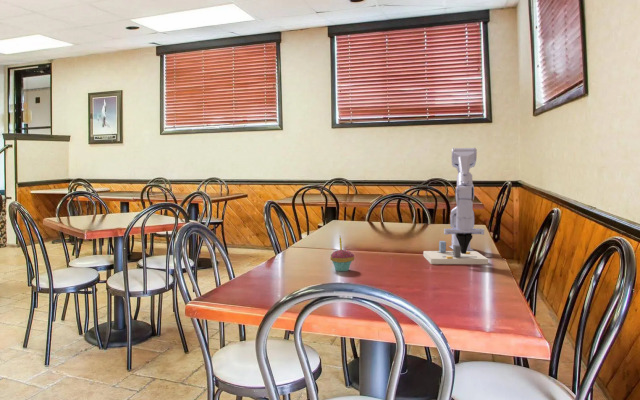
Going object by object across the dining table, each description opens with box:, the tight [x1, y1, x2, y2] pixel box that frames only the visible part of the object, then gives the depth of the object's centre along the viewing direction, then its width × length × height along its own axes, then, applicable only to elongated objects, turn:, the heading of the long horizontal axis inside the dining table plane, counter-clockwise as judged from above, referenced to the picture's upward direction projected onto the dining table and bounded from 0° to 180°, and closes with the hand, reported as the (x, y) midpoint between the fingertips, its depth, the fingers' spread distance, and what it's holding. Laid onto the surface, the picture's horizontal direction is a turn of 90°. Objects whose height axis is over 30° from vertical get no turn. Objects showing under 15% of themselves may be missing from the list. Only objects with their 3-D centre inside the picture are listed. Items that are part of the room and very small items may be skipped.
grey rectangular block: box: [438, 240, 447, 252], centre depth 183 cm, size 3×2×4 cm, turn 178°
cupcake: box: [330, 236, 356, 272], centre depth 162 cm, size 9×8×12 cm
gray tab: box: [452, 245, 461, 257], centre depth 174 cm, size 3×2×4 cm, turn 178°
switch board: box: [422, 250, 489, 265], centre depth 178 cm, size 15×21×3 cm
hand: (463, 253), depth 174 cm, fingers closed
